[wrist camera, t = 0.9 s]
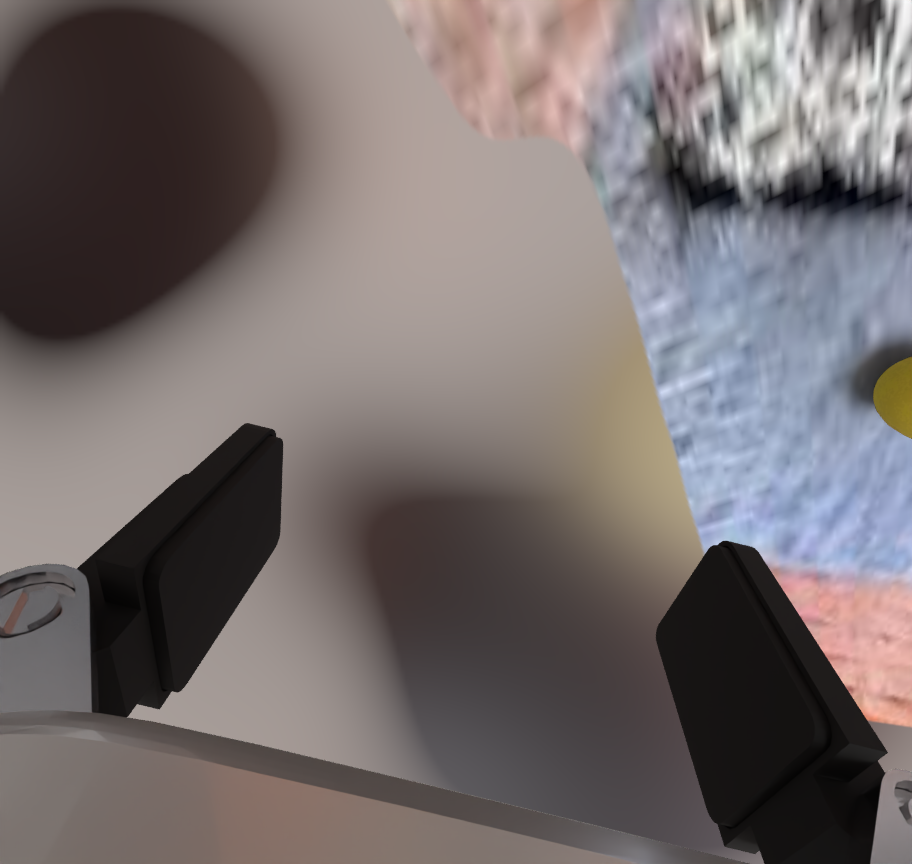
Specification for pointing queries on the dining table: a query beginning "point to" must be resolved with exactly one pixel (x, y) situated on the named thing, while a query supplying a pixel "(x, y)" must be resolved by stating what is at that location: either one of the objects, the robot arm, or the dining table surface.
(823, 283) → the dining table surface
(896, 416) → the lemon
